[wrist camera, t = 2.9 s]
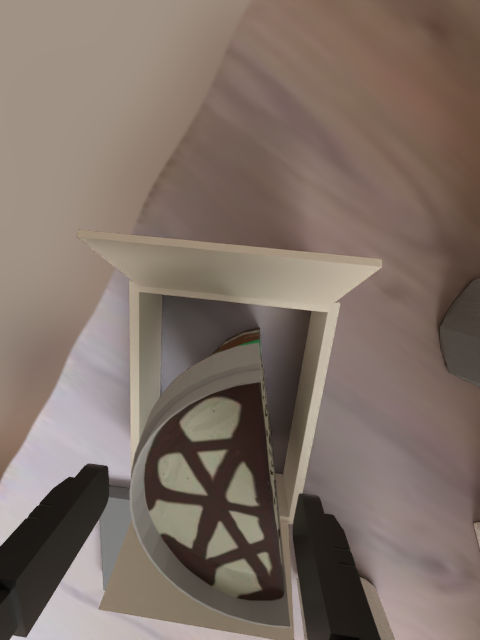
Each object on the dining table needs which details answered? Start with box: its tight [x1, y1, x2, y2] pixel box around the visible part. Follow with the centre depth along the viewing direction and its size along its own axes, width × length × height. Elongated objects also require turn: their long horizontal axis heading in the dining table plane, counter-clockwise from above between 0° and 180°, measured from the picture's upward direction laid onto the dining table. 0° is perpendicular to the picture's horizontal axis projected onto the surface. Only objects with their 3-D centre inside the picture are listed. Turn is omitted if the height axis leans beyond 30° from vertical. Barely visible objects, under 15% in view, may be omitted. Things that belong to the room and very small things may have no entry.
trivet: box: [100, 486, 132, 590], centre depth 22 cm, size 11×12×1 cm
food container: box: [130, 328, 290, 628], centre depth 13 cm, size 12×6×10 cm, turn 7°
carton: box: [77, 230, 382, 640], centre depth 14 cm, size 12×20×8 cm, turn 174°
